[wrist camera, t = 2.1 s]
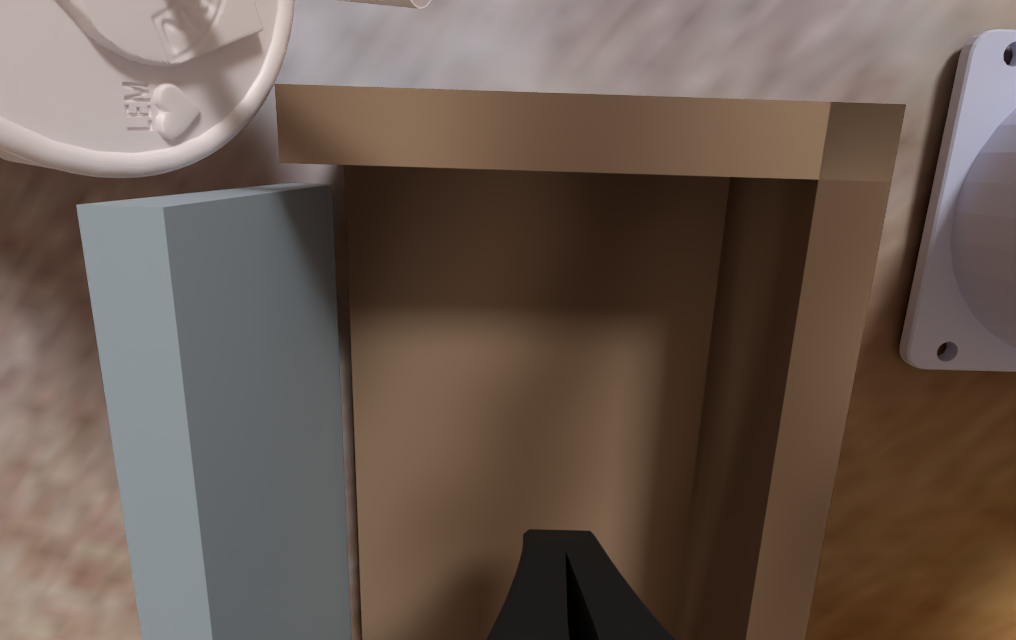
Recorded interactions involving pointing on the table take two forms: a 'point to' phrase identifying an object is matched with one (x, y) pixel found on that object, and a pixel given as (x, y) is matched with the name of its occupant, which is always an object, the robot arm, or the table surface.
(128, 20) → the smoothie
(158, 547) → the panel
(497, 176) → the box
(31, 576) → the table surface
